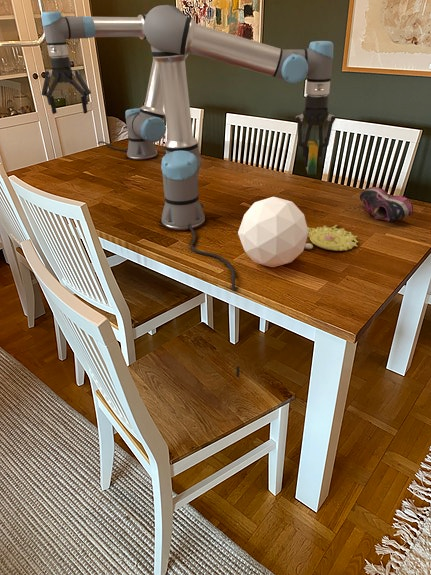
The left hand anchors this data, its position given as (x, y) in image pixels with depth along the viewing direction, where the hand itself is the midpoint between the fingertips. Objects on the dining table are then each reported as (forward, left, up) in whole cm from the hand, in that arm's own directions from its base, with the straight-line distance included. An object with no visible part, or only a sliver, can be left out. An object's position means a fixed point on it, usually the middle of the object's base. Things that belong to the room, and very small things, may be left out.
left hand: (70, 113), depth 188 cm
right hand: (+100, +29, -12) cm, 105 cm away
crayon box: (+100, +29, -14) cm, 105 cm away
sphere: (+114, -15, -27) cm, 118 cm away
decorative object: (+120, +8, -27) cm, 123 cm away
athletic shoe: (+126, +34, -27) cm, 133 cm away
